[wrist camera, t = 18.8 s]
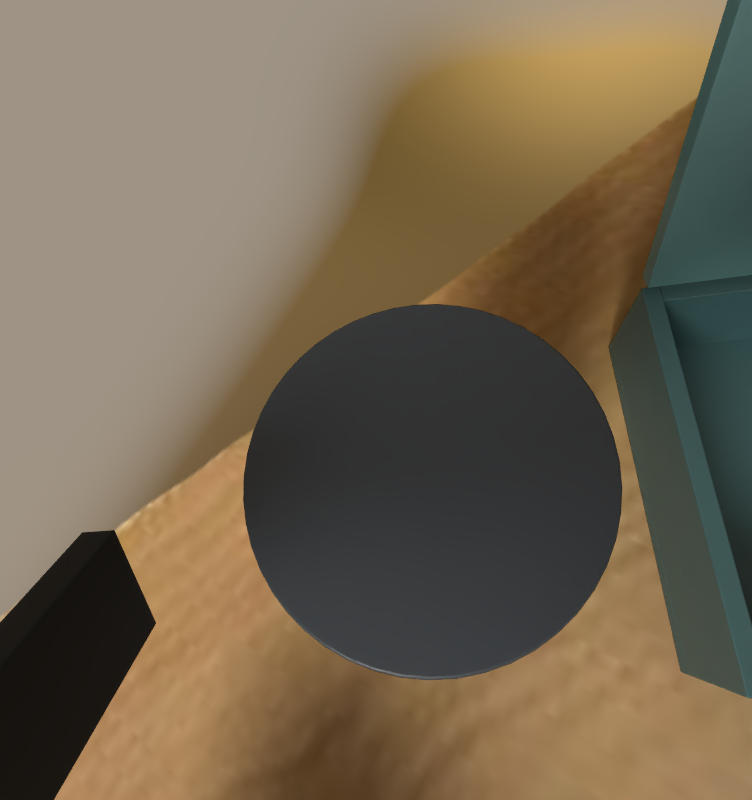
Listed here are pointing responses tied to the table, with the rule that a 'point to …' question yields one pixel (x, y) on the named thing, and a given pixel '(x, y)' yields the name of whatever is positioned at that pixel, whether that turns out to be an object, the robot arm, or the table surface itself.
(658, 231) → the chest lid
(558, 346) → the table surface
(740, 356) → the chest
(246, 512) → the canister
